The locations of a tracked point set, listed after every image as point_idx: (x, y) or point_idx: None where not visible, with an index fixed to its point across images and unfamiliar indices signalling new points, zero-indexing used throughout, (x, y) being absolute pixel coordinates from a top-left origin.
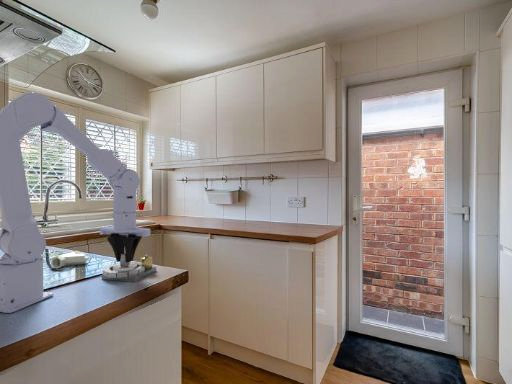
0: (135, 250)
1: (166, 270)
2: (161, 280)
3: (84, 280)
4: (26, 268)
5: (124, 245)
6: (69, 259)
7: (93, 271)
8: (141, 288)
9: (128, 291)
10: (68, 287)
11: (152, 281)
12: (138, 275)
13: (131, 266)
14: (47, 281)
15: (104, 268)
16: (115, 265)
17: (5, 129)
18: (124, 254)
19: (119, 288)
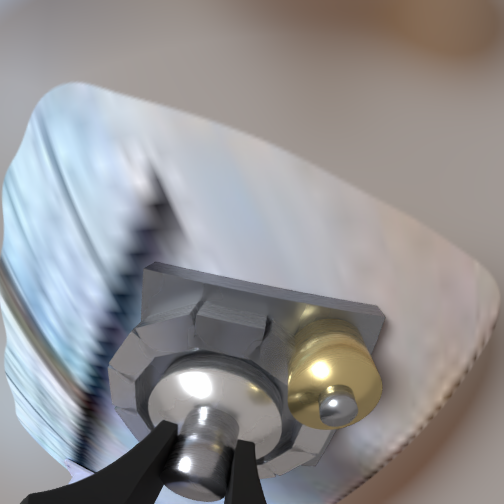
0: (263, 496)
1: (431, 290)
2: (417, 423)
3: (103, 415)
4: None
5: (133, 489)
6: None
7: (47, 309)
8: (355, 480)
9: (320, 495)
10: (115, 456)
11: (383, 437)
12: (321, 449)
13: (260, 437)
14: (28, 394)
15: (126, 423)
16: (153, 413)
17: None
18: (207, 499)
19: (280, 485)
